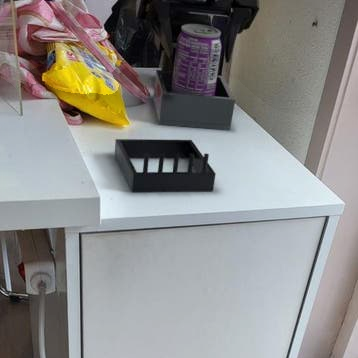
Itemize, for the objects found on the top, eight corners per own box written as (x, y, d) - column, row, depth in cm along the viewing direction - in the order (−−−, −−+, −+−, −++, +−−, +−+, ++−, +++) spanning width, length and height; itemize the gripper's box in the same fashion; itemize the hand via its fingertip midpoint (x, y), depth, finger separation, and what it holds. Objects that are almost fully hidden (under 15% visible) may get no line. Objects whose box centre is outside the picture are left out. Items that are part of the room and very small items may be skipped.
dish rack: (114, 156, 92) (116, 120, 89) (189, 156, 95) (193, 122, 92) (132, 192, 84) (134, 154, 81) (213, 191, 87) (218, 155, 84)
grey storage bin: (153, 99, 112) (155, 69, 109) (218, 105, 114) (223, 76, 110) (159, 124, 103) (162, 93, 100) (230, 130, 105) (235, 99, 102)
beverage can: (208, 103, 111) (219, 25, 103) (215, 118, 106) (227, 38, 98) (167, 99, 110) (175, 21, 102) (172, 115, 105) (181, 33, 97)
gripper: (145, -84, 92) (149, 23, 92) (269, -68, 96) (274, 34, 96) (133, -30, 103) (137, 65, 102) (245, -19, 107) (250, 73, 106)
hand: (199, 59), depth 101 cm, fingers open, 9 cm apart
